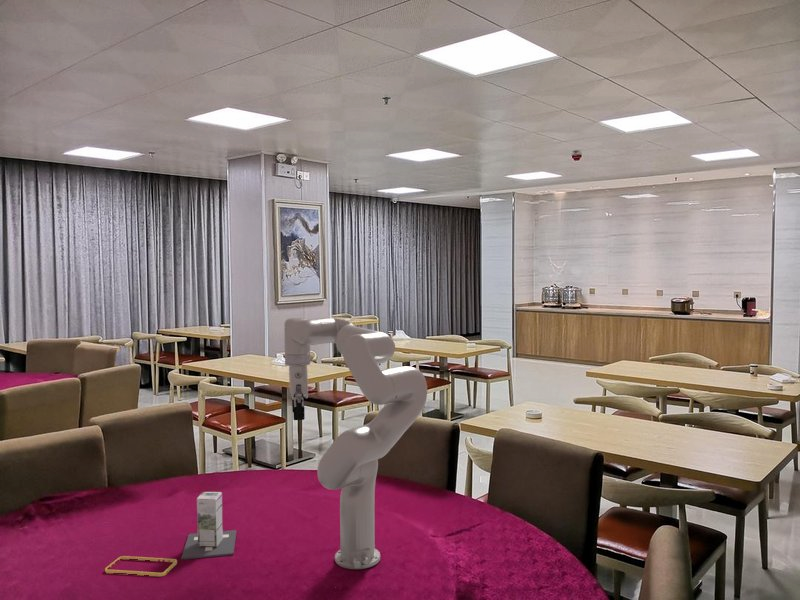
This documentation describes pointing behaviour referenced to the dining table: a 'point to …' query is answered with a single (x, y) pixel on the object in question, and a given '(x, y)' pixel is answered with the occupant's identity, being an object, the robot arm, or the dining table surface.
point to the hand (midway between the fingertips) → (298, 416)
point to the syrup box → (209, 519)
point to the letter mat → (200, 552)
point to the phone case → (139, 571)
